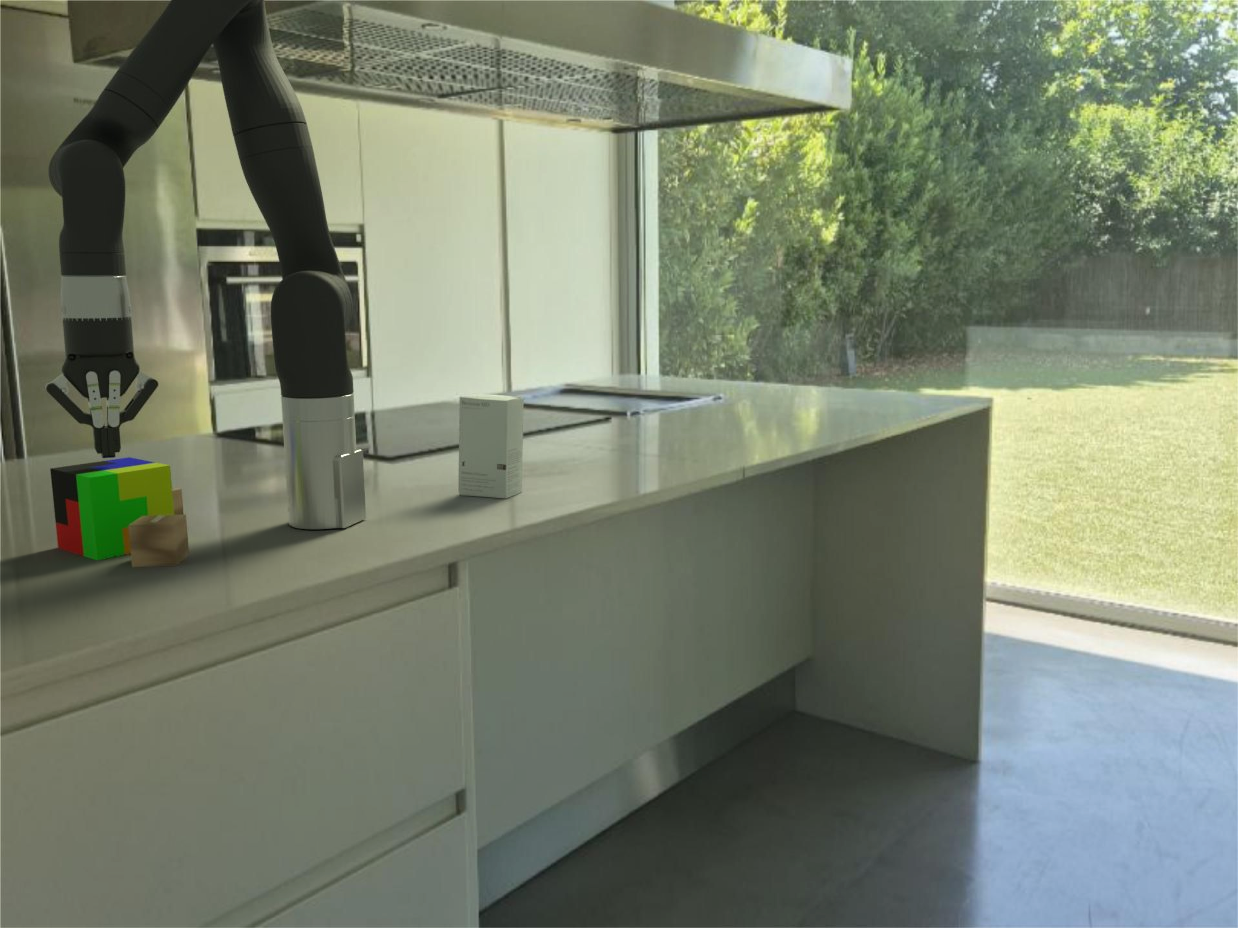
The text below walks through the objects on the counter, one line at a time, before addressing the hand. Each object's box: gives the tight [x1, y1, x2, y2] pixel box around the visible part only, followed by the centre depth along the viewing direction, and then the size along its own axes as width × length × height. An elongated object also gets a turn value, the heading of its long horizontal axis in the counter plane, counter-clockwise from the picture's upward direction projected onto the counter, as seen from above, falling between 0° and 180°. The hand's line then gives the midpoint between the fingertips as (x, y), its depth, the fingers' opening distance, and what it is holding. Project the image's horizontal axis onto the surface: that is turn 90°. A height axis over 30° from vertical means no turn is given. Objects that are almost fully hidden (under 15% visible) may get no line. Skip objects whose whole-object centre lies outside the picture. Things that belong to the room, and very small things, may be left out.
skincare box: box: [458, 393, 525, 499], centre depth 167 cm, size 8×6×15 cm
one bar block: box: [128, 514, 190, 568], centre depth 132 cm, size 5×5×5 cm
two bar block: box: [172, 487, 185, 515], centre depth 149 cm, size 5×5×5 cm
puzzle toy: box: [50, 456, 174, 561], centre depth 139 cm, size 10×10×10 cm
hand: (108, 456), depth 138 cm, fingers closed
